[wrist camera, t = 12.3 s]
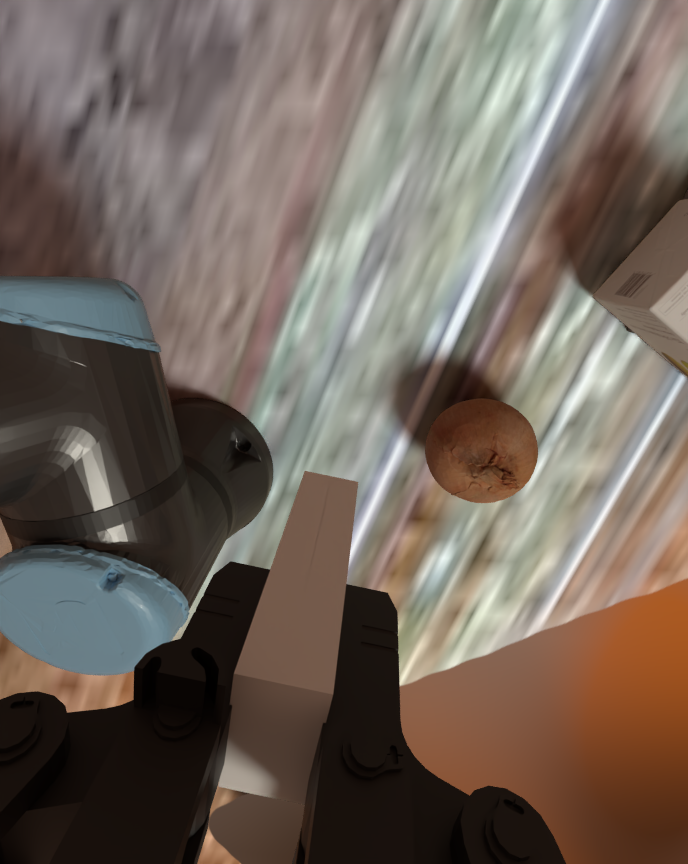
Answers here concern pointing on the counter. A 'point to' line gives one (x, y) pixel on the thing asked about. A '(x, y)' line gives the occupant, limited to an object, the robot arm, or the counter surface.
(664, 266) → the supplement box
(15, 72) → the counter surface
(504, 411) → the onion
